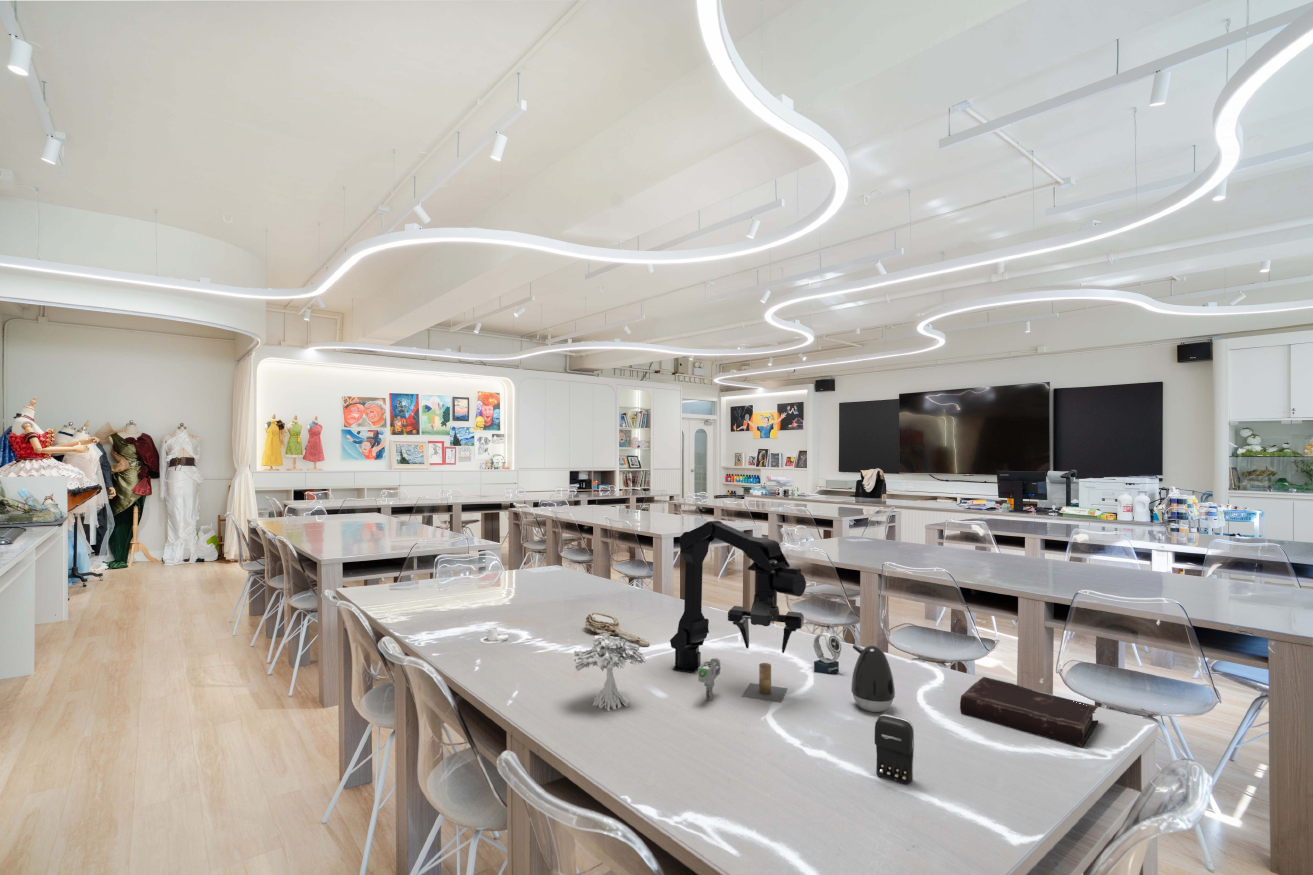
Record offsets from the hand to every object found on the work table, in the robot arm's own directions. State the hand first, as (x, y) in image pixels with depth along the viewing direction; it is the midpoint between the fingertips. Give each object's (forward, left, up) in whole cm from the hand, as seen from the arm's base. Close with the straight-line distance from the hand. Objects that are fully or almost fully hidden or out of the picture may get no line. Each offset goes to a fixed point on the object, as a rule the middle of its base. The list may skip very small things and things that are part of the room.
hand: (765, 650), depth 162 cm
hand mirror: (-56, +32, -12) cm, 66 cm away
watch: (+13, +24, -12) cm, 30 cm away
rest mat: (0, 0, -12) cm, 12 cm away
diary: (+61, +11, -12) cm, 63 cm away
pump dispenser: (+26, +3, -12) cm, 29 cm away
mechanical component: (-12, -10, -12) cm, 20 cm away
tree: (-35, -19, -12) cm, 42 cm away
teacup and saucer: (-90, +11, -12) cm, 92 cm away
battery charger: (+31, -31, -12) cm, 46 cm away
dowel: (0, 0, -11) cm, 11 cm away
